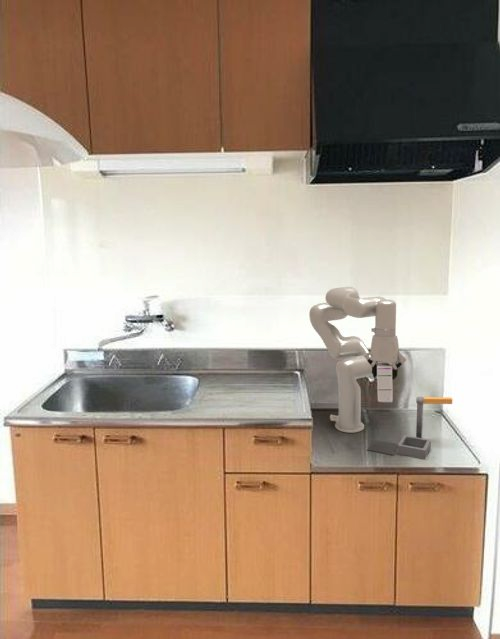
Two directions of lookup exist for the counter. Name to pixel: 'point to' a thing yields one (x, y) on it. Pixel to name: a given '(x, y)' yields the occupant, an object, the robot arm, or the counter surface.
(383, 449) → the mat
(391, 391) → the syrup box
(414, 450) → the collar
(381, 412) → the counter surface
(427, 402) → the bar
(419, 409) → the clip post
